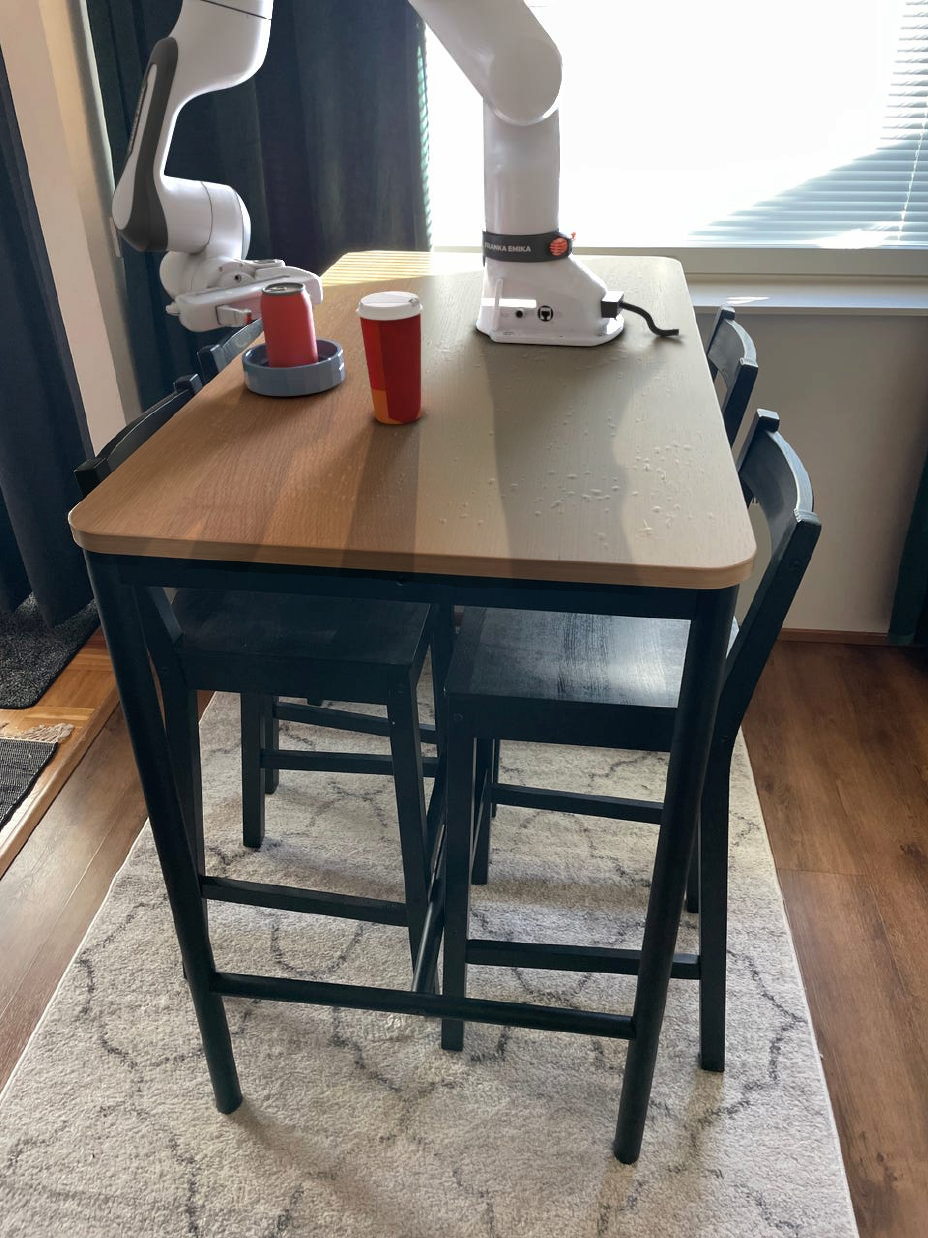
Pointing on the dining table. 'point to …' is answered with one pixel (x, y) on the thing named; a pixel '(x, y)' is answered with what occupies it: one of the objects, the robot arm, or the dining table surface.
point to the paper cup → (393, 354)
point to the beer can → (288, 325)
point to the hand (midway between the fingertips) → (279, 311)
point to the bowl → (294, 371)
